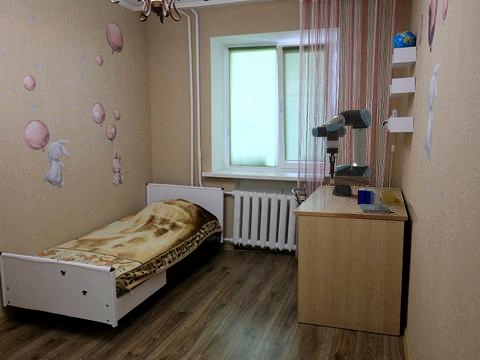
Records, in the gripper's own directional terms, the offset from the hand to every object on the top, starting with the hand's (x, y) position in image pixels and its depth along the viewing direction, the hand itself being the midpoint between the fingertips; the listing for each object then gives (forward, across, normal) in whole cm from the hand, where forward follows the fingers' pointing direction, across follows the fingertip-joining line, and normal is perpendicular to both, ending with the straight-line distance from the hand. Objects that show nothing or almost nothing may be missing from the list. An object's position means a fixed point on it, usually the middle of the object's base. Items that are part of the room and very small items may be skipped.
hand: (331, 183), depth 263 cm
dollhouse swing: (+17, -19, +40) cm, 48 cm away
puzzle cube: (+17, -18, +24) cm, 34 cm away
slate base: (+16, +1, +27) cm, 32 cm away
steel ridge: (+15, +1, +27) cm, 31 cm away
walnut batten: (+1, 0, +9) cm, 9 cm away
